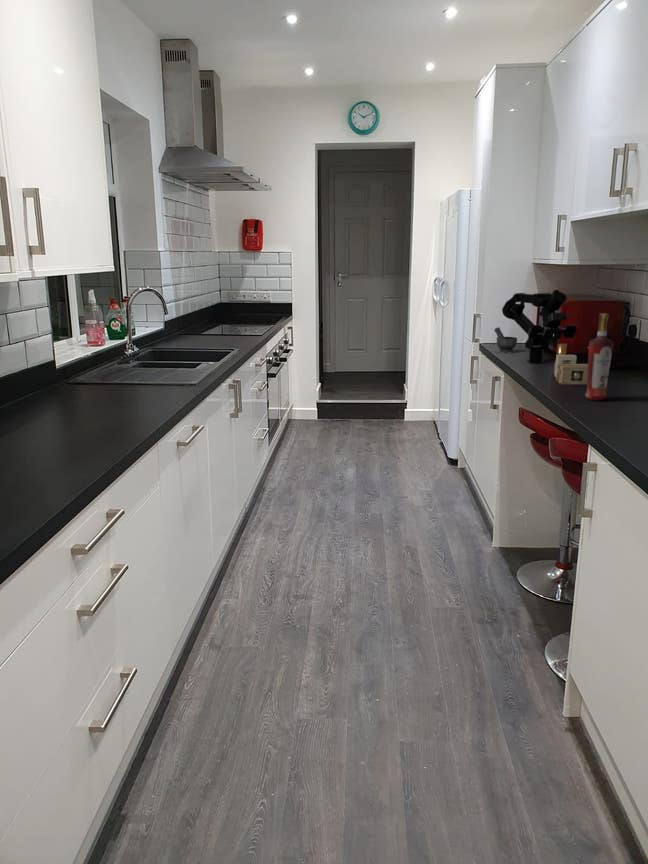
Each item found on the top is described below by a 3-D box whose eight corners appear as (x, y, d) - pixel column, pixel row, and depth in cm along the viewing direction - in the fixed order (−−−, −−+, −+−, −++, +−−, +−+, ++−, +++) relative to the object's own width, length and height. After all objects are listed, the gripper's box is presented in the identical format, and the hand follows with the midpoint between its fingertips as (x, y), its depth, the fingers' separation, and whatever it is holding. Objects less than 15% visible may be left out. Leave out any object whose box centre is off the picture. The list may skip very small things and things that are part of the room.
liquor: (599, 396, 225) (608, 312, 218) (611, 401, 218) (621, 314, 211) (579, 397, 224) (587, 313, 216) (591, 402, 217) (599, 315, 209)
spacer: (554, 376, 261) (556, 354, 259) (572, 376, 261) (574, 354, 259) (556, 377, 258) (558, 356, 256) (574, 377, 258) (576, 356, 256)
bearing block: (556, 380, 252) (557, 363, 251) (585, 380, 252) (587, 363, 250) (561, 384, 246) (563, 367, 244) (591, 384, 245) (593, 367, 244)
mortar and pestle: (513, 350, 328) (515, 326, 325) (519, 353, 319) (520, 328, 316) (490, 350, 328) (492, 326, 325) (495, 353, 319) (496, 328, 316)
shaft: (550, 372, 268) (553, 343, 265) (565, 372, 268) (568, 343, 264) (568, 383, 246) (571, 351, 243) (584, 383, 246) (587, 351, 243)
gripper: (531, 305, 274) (537, 335, 266) (577, 305, 273) (584, 335, 265) (525, 322, 283) (530, 352, 276) (569, 322, 283) (576, 352, 275)
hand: (555, 347), depth 273 cm, fingers closed
